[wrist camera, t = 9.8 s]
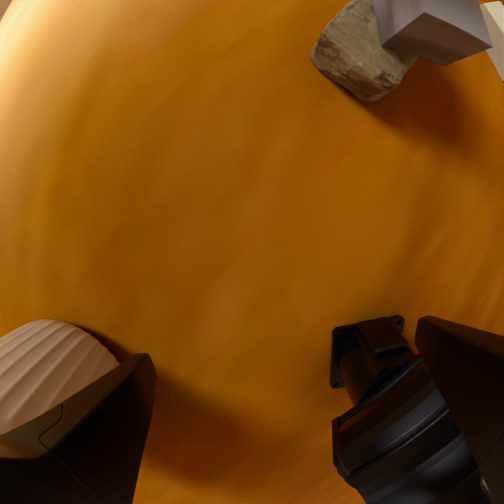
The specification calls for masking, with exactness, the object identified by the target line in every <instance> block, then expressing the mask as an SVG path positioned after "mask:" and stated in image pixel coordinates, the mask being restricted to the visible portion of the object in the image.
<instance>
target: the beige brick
mask: <svg viewBox="0 0 504 504" xmlns="http://www.w3.org/2000/svg"><path fill="white" fill-rule="evenodd" d="M480 8H481V11H482V14H483V17H484V19H485V22H486V25H487V28H488V31H489V35H490V38H491V41H492V45H493V48H490V49H487V50H486V51H487V53H488V55H489V56H490V58H491V60H492V62H493V64H494V65H495V67H496V69H497V71H498V73H499V75H500V77H501V79H502V81H504V6H503V5H502V3H501V2H500V1H496V2H490V3H484V4H482V5H480Z"/></svg>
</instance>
